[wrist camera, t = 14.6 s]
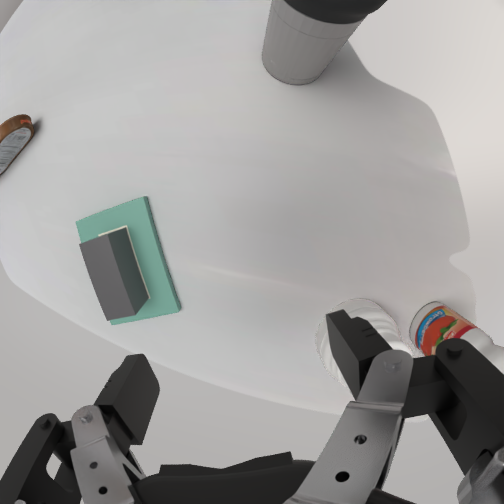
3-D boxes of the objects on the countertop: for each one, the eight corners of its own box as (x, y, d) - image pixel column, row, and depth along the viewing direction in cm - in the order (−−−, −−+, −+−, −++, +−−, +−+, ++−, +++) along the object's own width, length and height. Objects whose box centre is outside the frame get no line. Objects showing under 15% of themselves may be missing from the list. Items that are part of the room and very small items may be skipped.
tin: (39, 117, 32) (9, 109, 24) (43, 130, 33) (12, 123, 25) (-5, 170, 33) (-35, 171, 25) (-1, 183, 34) (-31, 185, 26)
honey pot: (397, 309, 42) (459, 364, 25) (363, 370, 45) (404, 437, 27) (336, 288, 41) (392, 350, 23) (302, 357, 43) (330, 437, 26)
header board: (80, 220, 37) (63, 225, 32) (146, 196, 37) (133, 197, 32) (115, 321, 41) (103, 335, 36) (180, 307, 40) (174, 322, 36)
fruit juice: (433, 346, 45) (516, 429, 18) (400, 343, 44) (489, 444, 17) (451, 303, 43) (551, 374, 16) (420, 297, 42) (532, 381, 15)
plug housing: (99, 235, 36) (79, 244, 30) (126, 227, 36) (107, 234, 30) (123, 303, 38) (107, 320, 32) (149, 297, 38) (135, 315, 32)
